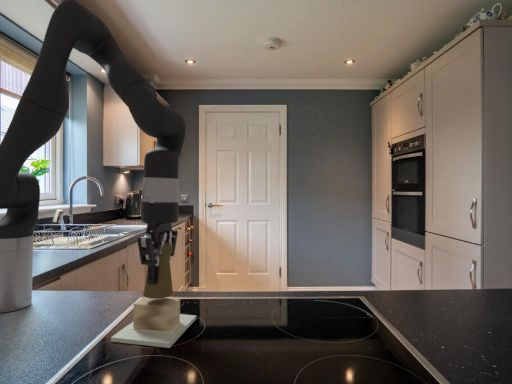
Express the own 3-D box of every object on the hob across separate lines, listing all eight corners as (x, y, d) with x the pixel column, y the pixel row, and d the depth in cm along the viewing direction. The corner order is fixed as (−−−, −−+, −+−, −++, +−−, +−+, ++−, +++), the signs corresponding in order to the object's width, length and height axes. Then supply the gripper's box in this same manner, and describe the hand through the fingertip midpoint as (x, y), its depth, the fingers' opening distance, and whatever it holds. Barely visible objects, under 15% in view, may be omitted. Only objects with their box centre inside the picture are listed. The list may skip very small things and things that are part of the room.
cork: (164, 299, 63) (166, 244, 63) (137, 296, 64) (138, 243, 64) (177, 290, 69) (179, 240, 69) (152, 288, 70) (154, 239, 70)
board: (110, 341, 61) (110, 336, 61) (147, 314, 74) (147, 310, 74) (169, 348, 59) (169, 343, 59) (196, 319, 72) (196, 315, 72)
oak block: (133, 328, 64) (133, 303, 65) (144, 318, 69) (145, 296, 70) (170, 331, 63) (171, 306, 63) (179, 321, 68) (180, 298, 68)
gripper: (159, 199, 74) (157, 272, 74) (125, 199, 60) (122, 289, 60) (189, 200, 73) (187, 274, 73) (161, 201, 59) (159, 292, 59)
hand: (158, 280), depth 67 cm, fingers closed on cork, 4 cm apart
